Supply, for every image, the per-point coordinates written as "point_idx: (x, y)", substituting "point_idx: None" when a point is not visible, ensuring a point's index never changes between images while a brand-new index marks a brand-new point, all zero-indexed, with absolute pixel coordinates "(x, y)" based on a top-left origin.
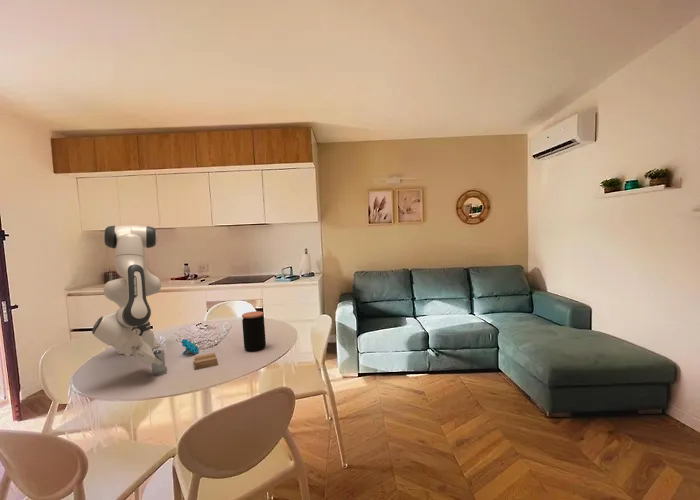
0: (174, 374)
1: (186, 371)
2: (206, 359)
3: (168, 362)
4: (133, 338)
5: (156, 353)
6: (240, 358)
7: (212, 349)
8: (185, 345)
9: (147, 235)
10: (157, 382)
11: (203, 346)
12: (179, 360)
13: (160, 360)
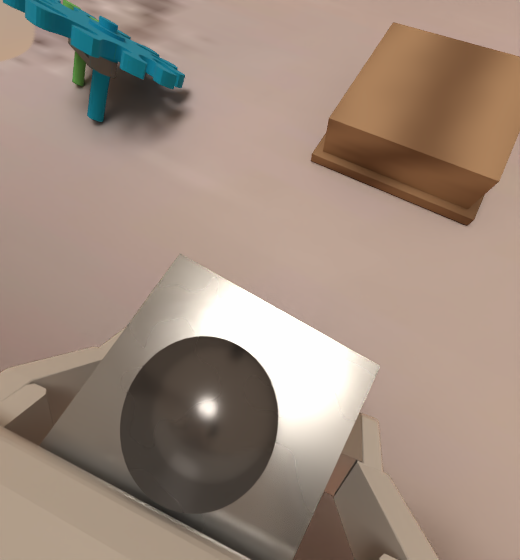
0: (422, 350)
1: (442, 268)
2: (499, 105)
3: (123, 238)
4: None
5: (258, 467)
6: (512, 10)
7: (207, 17)
8: (101, 44)
9: None
10: (494, 554)
11: (109, 19)
12: (170, 183)
13: (358, 433)
